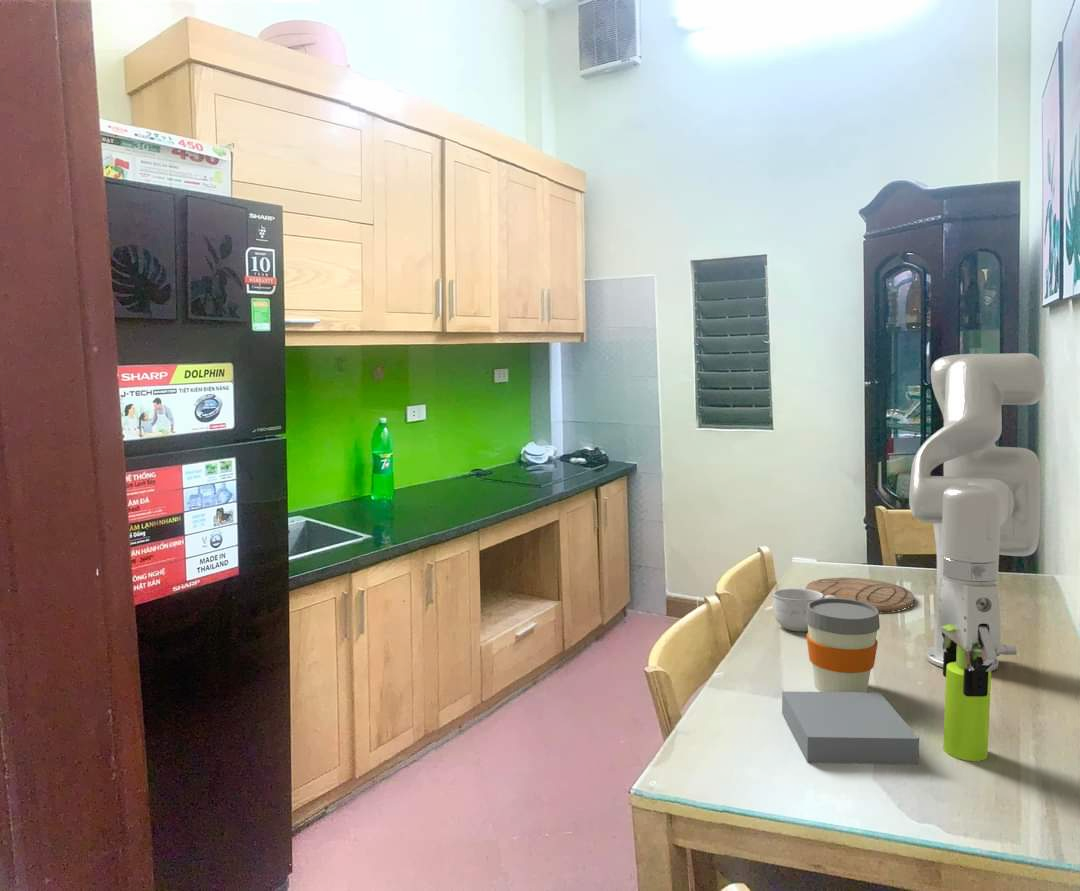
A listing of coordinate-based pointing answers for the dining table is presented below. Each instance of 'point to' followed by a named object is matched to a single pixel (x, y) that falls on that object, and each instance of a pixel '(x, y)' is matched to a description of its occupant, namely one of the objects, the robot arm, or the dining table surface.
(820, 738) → the stand
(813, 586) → the trivet
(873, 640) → the reusable coffee cup
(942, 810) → the dining table surface
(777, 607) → the teacup
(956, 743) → the soap dispenser
